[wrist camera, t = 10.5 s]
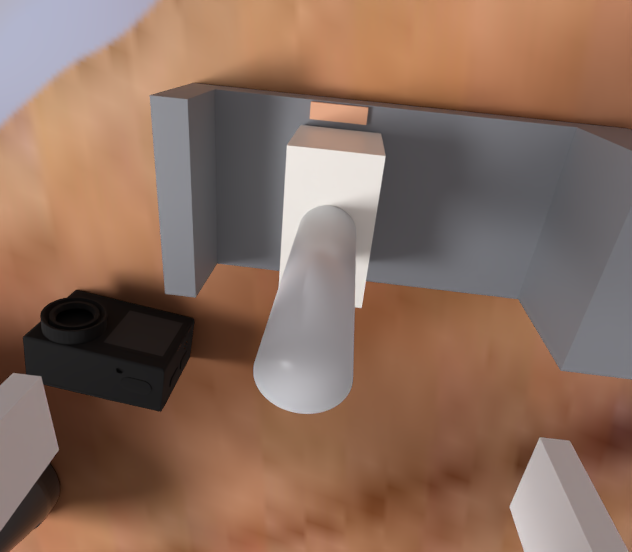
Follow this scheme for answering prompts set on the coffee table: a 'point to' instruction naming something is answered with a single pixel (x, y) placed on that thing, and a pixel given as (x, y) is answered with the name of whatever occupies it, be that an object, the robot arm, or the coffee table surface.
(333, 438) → the coffee table surface
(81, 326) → the digital camera
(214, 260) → the bench clamp
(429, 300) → the coffee table surface
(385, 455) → the coffee table surface
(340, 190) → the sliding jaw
